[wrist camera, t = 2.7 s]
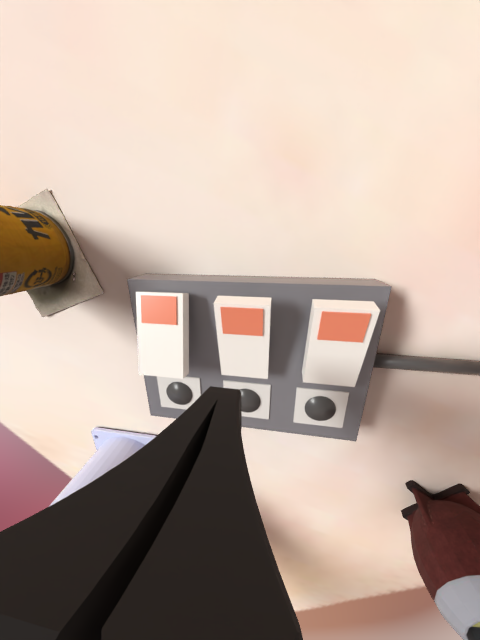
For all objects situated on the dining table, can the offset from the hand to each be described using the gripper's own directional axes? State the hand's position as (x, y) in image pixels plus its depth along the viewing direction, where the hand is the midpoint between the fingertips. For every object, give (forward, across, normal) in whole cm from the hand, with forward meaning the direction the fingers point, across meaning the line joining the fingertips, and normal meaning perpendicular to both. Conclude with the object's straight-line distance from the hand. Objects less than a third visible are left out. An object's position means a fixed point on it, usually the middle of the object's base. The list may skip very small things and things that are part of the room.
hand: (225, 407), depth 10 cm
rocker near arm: (+6, +6, -1) cm, 8 cm away
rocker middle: (+6, 0, -1) cm, 6 cm away
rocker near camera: (+6, -6, -1) cm, 8 cm away
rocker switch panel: (+9, -4, +2) cm, 11 cm away
